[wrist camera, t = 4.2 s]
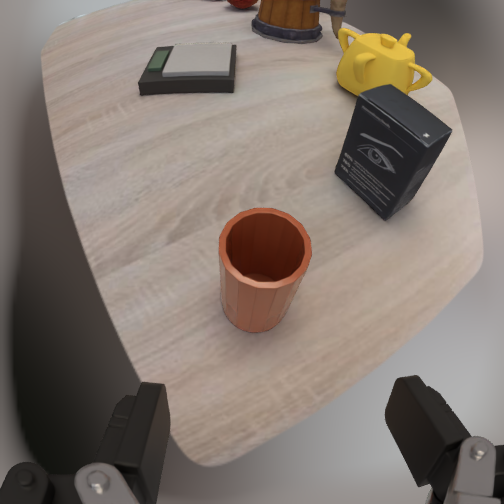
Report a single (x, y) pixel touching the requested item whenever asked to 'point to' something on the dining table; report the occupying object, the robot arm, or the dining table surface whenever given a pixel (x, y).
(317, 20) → the mug
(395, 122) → the box
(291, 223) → the cup
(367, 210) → the dining table surface
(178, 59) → the scale
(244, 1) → the fruit
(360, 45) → the teapot
